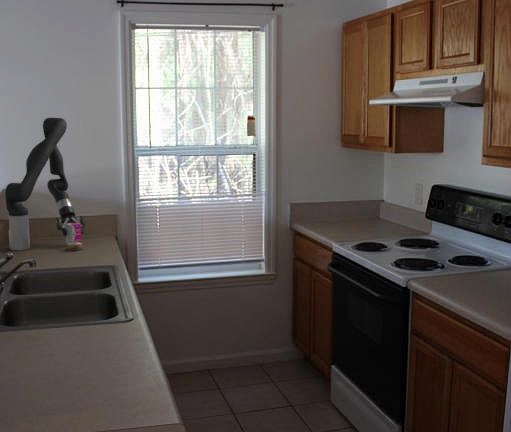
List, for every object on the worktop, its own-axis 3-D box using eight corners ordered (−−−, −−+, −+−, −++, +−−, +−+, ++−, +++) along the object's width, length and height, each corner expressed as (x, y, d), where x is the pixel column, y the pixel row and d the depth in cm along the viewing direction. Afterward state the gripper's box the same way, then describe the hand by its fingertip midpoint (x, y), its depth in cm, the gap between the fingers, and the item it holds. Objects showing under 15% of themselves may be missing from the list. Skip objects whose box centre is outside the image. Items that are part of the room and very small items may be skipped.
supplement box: (72, 247, 345) (71, 225, 343) (65, 245, 349) (64, 223, 347) (81, 245, 350) (81, 223, 348) (74, 244, 353) (73, 222, 351)
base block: (69, 251, 334) (68, 245, 333) (63, 249, 340) (63, 243, 340) (84, 250, 338) (84, 244, 338) (79, 247, 345) (79, 241, 344)
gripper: (53, 206, 349) (61, 231, 341) (80, 204, 356) (89, 228, 349) (50, 215, 354) (58, 240, 346) (77, 212, 362) (85, 237, 354)
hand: (73, 234), depth 347 cm, fingers open, 8 cm apart
